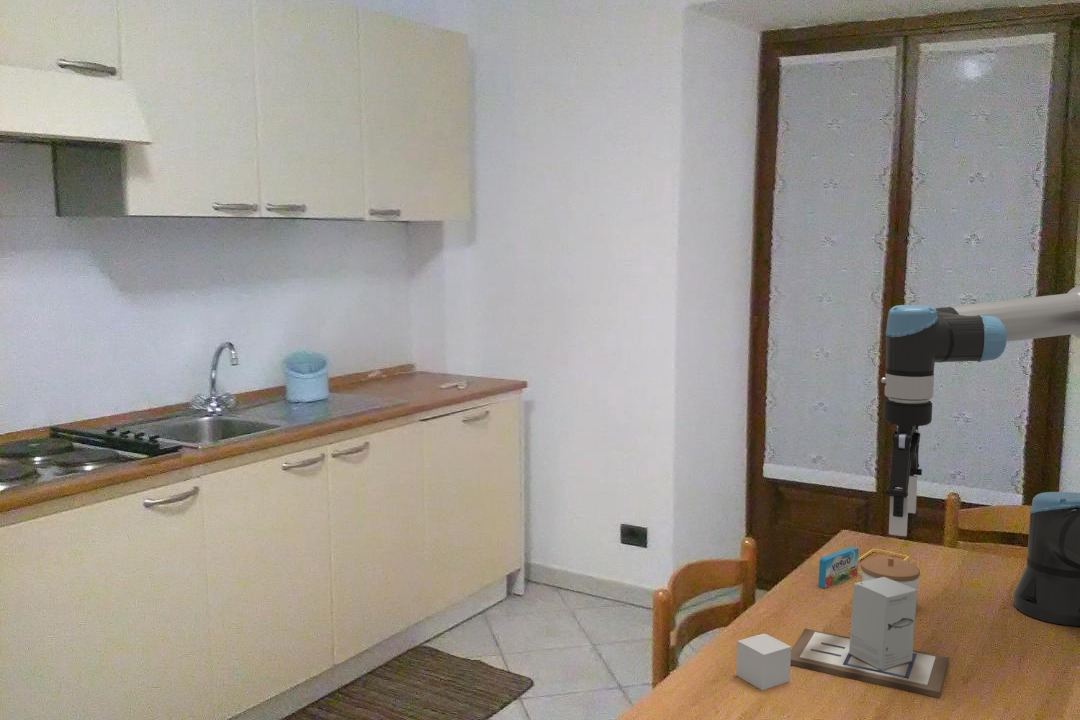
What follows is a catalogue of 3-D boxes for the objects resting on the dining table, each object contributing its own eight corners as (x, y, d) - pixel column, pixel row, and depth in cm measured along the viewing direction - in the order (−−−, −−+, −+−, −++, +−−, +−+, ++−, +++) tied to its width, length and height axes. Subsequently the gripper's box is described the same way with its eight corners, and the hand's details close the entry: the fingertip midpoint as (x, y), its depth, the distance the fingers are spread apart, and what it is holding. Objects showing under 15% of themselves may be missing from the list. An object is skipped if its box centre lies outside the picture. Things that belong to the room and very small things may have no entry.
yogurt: (824, 589, 196) (826, 560, 195) (818, 587, 197) (819, 558, 196) (857, 576, 204) (858, 548, 203) (850, 574, 205) (852, 546, 204)
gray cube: (735, 675, 158) (737, 640, 157) (762, 667, 161) (764, 633, 160) (762, 690, 153) (764, 654, 152) (789, 682, 156) (791, 646, 155)
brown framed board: (948, 663, 163) (949, 655, 163) (939, 698, 151) (940, 690, 151) (804, 633, 174) (805, 626, 174) (785, 663, 162) (785, 656, 162)
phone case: (909, 561, 214) (910, 556, 214) (881, 583, 201) (882, 577, 201) (873, 553, 219) (873, 548, 219) (843, 573, 206) (843, 567, 206)
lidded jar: (908, 595, 193) (911, 550, 192) (924, 616, 183) (927, 569, 181) (853, 592, 194) (856, 547, 193) (866, 613, 184) (869, 566, 182)
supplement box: (881, 671, 157) (886, 597, 155) (847, 653, 163) (851, 581, 161) (913, 662, 160) (918, 589, 158) (878, 645, 167) (883, 574, 165)
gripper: (893, 385, 173) (888, 501, 176) (873, 410, 151) (868, 541, 154) (938, 388, 169) (933, 506, 172) (925, 414, 147) (918, 548, 150)
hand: (902, 523), depth 163 cm, fingers open, 13 cm apart
